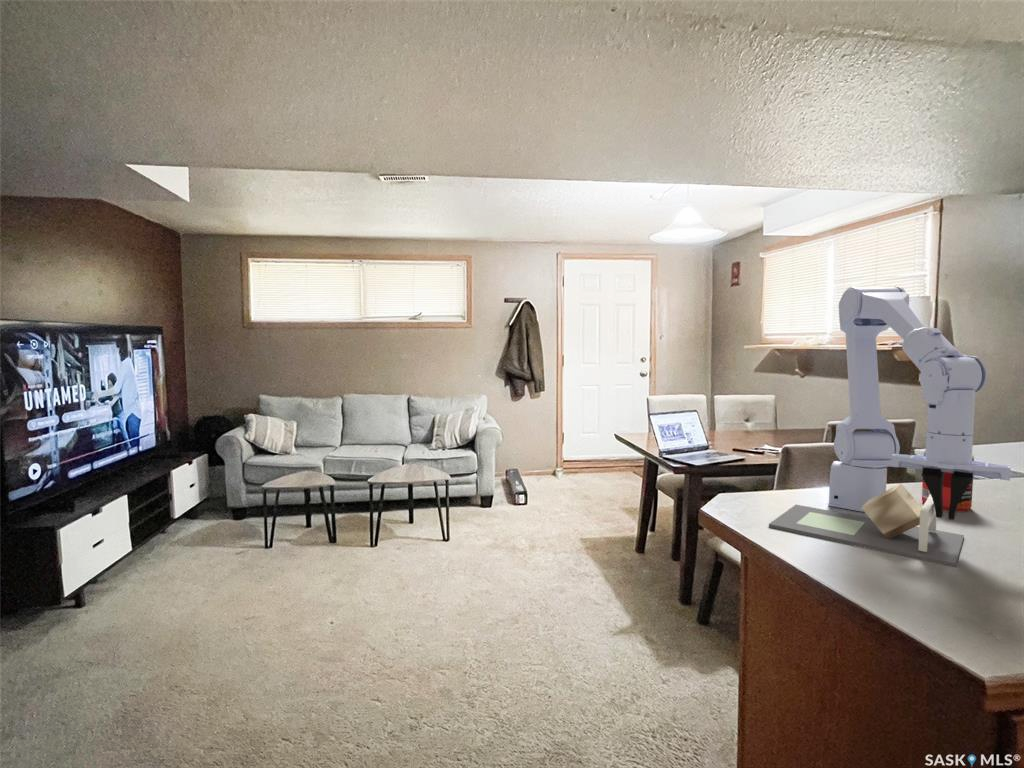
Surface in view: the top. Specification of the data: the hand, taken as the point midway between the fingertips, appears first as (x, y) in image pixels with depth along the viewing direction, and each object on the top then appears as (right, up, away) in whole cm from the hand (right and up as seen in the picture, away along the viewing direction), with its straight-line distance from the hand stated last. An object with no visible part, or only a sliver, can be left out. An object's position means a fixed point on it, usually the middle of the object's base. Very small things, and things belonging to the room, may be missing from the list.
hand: (945, 517), depth 85 cm
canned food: (+18, -4, +23) cm, 29 cm away
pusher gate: (-2, -5, +2) cm, 6 cm away
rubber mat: (-8, -5, +8) cm, 12 cm away
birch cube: (-3, -3, +3) cm, 6 cm away
